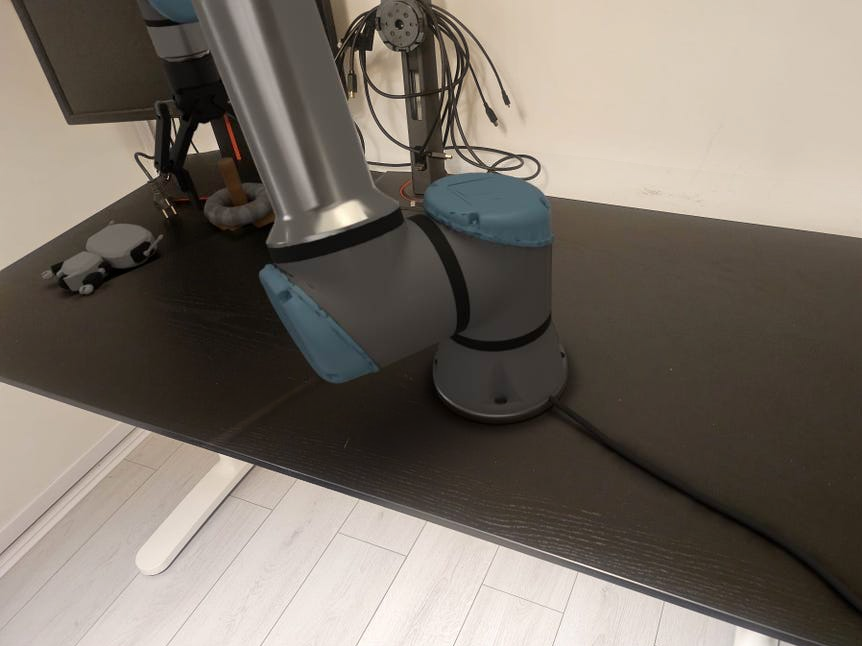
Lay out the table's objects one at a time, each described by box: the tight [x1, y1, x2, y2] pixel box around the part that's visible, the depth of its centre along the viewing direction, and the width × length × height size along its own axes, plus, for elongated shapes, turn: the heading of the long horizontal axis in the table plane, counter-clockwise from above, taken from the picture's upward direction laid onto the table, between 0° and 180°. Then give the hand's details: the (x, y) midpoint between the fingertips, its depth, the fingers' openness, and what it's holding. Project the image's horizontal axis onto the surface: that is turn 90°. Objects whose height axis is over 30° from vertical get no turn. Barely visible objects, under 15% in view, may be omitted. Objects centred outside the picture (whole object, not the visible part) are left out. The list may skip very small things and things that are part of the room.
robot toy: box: [41, 220, 164, 295], centre depth 93 cm, size 12×4×15 cm
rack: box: [208, 156, 275, 231], centre depth 101 cm, size 9×9×10 cm
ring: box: [203, 182, 273, 226], centre depth 102 cm, size 12×12×3 cm
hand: (236, 193), depth 101 cm, fingers open, 13 cm apart
